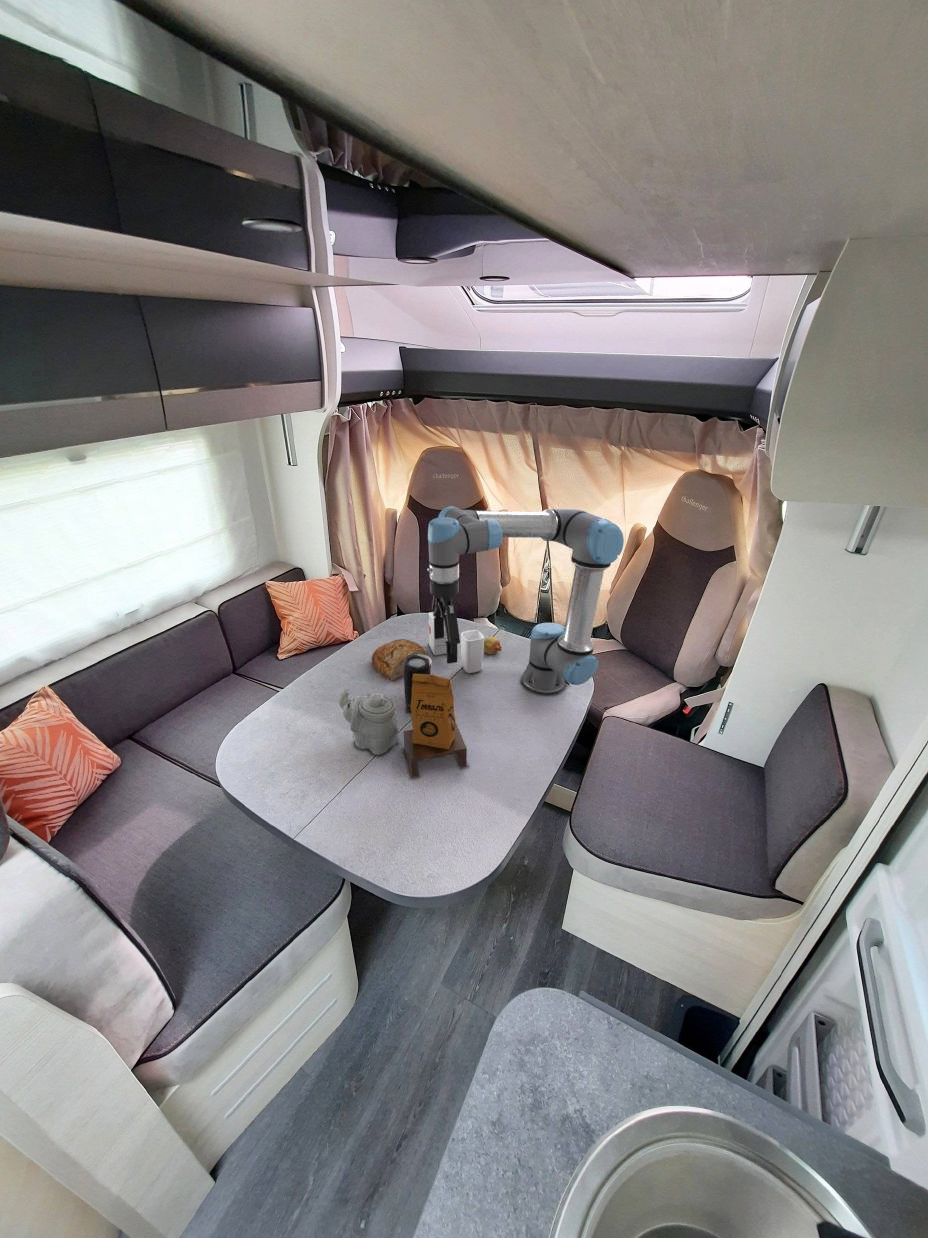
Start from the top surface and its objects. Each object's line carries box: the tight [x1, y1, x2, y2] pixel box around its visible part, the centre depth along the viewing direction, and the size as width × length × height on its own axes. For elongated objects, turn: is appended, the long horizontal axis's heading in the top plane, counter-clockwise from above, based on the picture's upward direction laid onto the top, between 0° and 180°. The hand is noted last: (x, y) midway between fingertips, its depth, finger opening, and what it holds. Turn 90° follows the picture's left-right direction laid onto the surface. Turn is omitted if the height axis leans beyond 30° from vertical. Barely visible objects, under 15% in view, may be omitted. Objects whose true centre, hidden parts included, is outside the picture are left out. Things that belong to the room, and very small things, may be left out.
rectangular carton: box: [427, 611, 448, 656], centre depth 203 cm, size 9×9×15 cm
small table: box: [402, 723, 468, 778], centre depth 149 cm, size 16×12×7 cm
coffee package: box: [410, 673, 457, 749], centre depth 142 cm, size 10×12×22 cm
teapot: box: [338, 688, 399, 756], centre depth 152 cm, size 16×15×19 cm
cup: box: [460, 629, 485, 674], centre depth 189 cm, size 7×7×15 cm
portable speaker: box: [403, 655, 430, 715], centre depth 166 cm, size 9×9×20 cm
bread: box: [371, 638, 429, 681], centre depth 193 cm, size 20×18×10 cm
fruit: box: [483, 636, 503, 655], centre depth 203 cm, size 7×7×10 cm
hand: (445, 649), depth 141 cm, fingers open, 13 cm apart
